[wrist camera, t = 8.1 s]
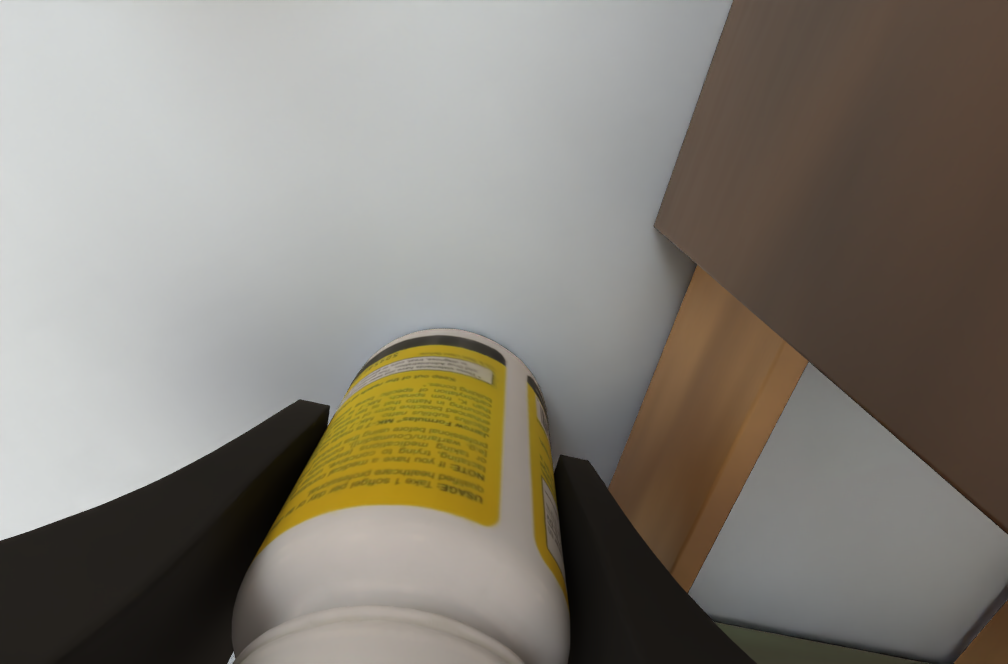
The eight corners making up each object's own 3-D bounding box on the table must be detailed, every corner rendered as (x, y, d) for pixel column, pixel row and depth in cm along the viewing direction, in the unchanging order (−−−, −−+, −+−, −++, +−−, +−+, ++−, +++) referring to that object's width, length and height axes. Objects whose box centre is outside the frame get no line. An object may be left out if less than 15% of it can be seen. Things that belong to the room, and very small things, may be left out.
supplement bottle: (312, 409, 13) (20, 853, 5) (444, 281, 12) (310, 626, 4) (454, 520, 14) (384, 1006, 7) (587, 417, 13) (694, 874, 5)
